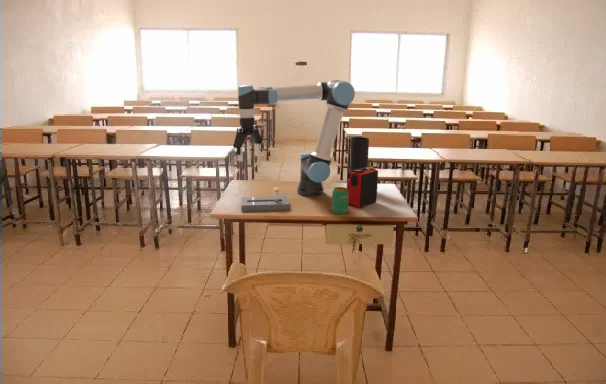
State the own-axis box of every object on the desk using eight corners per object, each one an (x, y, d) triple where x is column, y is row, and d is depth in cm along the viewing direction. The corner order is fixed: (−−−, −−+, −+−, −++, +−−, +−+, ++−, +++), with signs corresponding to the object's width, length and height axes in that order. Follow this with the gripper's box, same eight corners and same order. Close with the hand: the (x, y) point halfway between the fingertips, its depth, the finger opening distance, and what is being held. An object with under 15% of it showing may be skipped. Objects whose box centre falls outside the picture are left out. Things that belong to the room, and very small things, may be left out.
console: (286, 201, 245) (286, 195, 245) (289, 209, 232) (289, 203, 231) (241, 202, 243) (241, 197, 242) (241, 211, 229) (241, 205, 228)
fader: (278, 203, 240) (278, 187, 238) (278, 206, 236) (278, 189, 233) (274, 203, 240) (273, 187, 238) (274, 206, 235) (274, 190, 233)
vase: (367, 191, 266) (370, 140, 257) (350, 191, 266) (352, 140, 257) (365, 186, 276) (367, 137, 267) (348, 186, 275) (350, 137, 267)
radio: (362, 198, 252) (364, 162, 247) (377, 202, 245) (379, 166, 240) (344, 204, 241) (345, 167, 236) (359, 208, 235) (360, 170, 229)
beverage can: (342, 208, 234) (343, 186, 231) (350, 213, 228) (351, 190, 224) (328, 210, 231) (329, 187, 228) (337, 215, 224) (337, 192, 221)
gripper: (256, 113, 241) (258, 153, 247) (224, 119, 221) (227, 162, 227) (268, 114, 237) (269, 154, 243) (236, 120, 217) (238, 163, 223)
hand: (248, 158), depth 235 cm, fingers open, 13 cm apart
